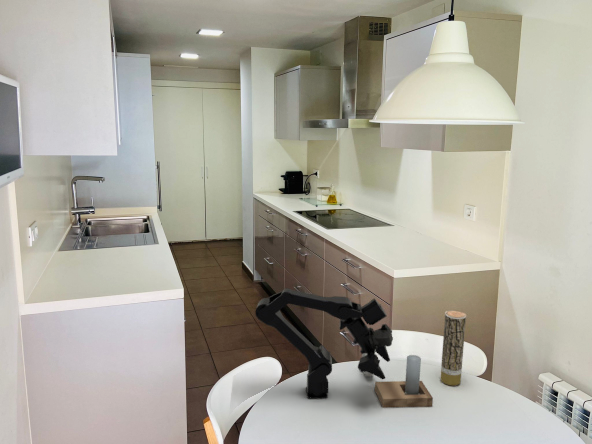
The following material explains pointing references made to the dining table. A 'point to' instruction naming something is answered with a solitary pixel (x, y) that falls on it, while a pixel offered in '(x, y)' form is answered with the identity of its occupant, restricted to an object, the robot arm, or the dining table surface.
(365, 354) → the donut
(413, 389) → the peg
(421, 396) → the socket block
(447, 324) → the bark textured cylinder
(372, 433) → the dining table surface
